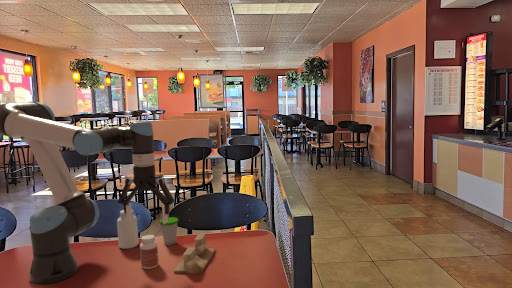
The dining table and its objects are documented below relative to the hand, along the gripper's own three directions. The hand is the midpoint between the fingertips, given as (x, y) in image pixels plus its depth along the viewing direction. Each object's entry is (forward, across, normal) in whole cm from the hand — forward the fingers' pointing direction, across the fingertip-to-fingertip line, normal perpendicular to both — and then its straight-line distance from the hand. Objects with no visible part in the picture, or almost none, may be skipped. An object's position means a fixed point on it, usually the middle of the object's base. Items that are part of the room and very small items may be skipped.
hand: (147, 222), depth 141 cm
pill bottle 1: (+17, -17, +18) cm, 30 cm away
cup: (+17, 0, +21) cm, 27 cm away
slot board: (+16, +16, +5) cm, 23 cm away
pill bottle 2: (+17, 0, 0) cm, 17 cm away
